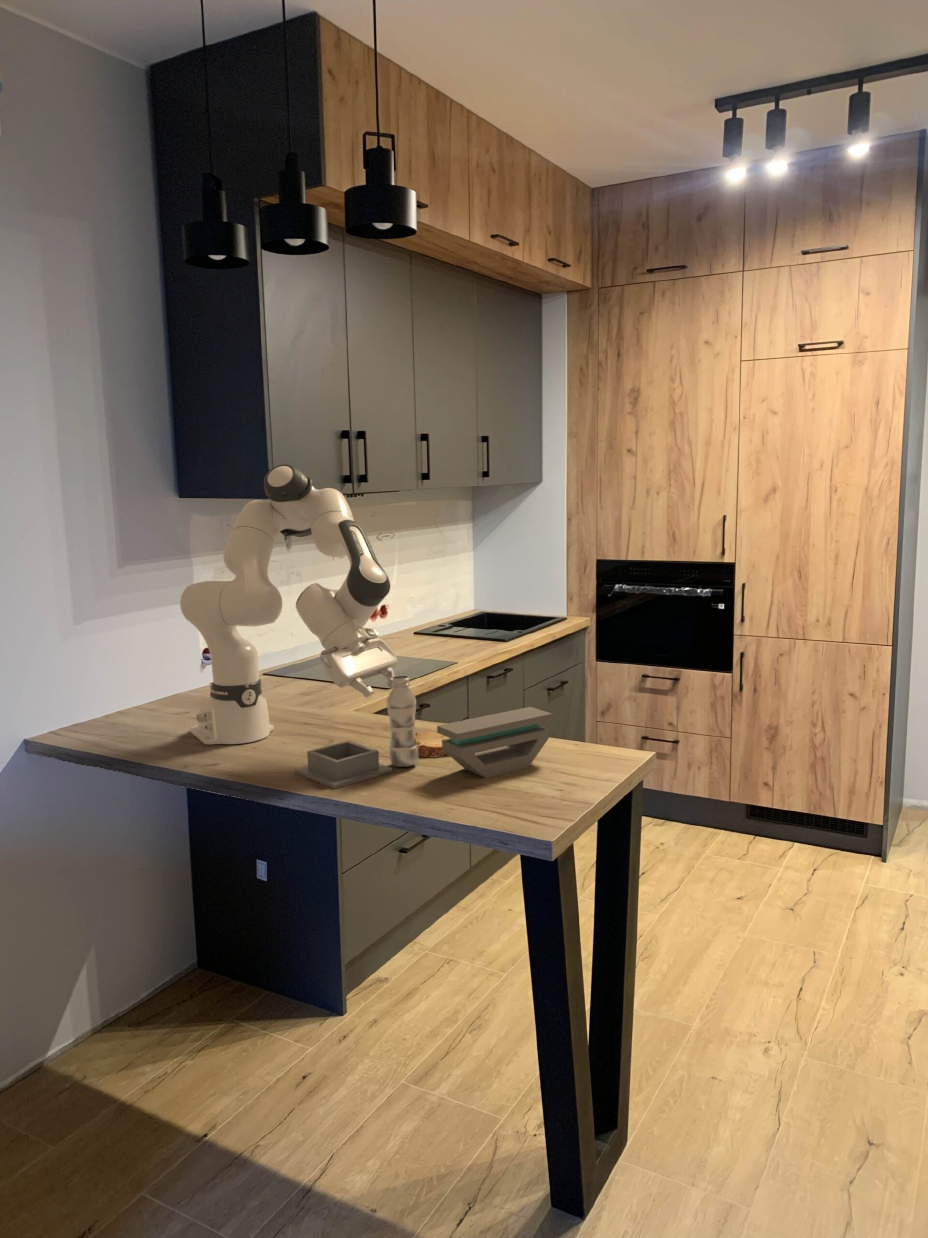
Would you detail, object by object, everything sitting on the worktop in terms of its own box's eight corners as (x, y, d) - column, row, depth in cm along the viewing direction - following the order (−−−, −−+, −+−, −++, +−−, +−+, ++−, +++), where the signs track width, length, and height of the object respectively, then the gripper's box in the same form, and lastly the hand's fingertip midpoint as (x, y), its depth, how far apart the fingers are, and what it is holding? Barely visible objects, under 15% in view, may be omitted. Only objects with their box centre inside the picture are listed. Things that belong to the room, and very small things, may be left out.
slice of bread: (495, 742, 223) (494, 726, 223) (464, 764, 207) (463, 748, 207) (428, 735, 231) (427, 720, 230) (393, 756, 215) (392, 740, 214)
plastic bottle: (418, 769, 203) (415, 680, 200) (387, 770, 203) (384, 681, 200) (420, 760, 209) (417, 673, 206) (389, 761, 209) (386, 674, 206)
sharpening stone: (530, 753, 213) (530, 706, 211) (552, 761, 206) (552, 713, 205) (438, 775, 199) (437, 725, 197) (458, 784, 193) (457, 734, 191)
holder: (295, 772, 203) (294, 751, 202) (351, 757, 213) (350, 737, 212) (334, 789, 192) (333, 766, 191) (392, 771, 202) (391, 750, 201)
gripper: (323, 643, 200) (362, 692, 197) (379, 628, 217) (416, 672, 214) (309, 661, 203) (346, 710, 200) (365, 645, 220) (401, 689, 217)
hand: (383, 690), depth 207 cm, fingers open, 8 cm apart
